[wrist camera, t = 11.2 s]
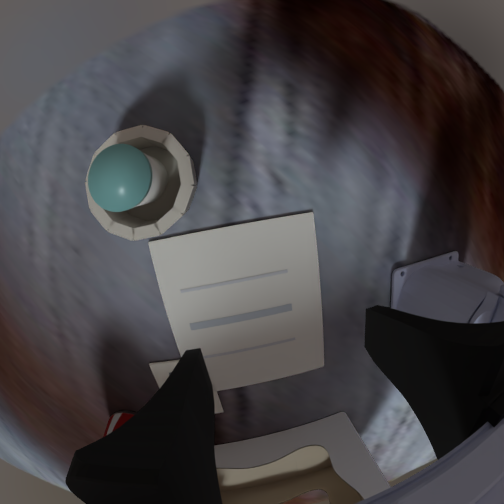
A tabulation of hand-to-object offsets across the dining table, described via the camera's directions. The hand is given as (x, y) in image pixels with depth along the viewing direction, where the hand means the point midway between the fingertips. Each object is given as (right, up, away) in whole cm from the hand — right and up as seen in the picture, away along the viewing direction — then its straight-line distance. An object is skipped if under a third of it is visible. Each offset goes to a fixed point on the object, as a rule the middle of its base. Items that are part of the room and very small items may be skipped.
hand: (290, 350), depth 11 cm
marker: (-8, +9, +6) cm, 14 cm away
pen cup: (-9, +9, +7) cm, 14 cm away
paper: (-2, -1, +10) cm, 10 cm away
